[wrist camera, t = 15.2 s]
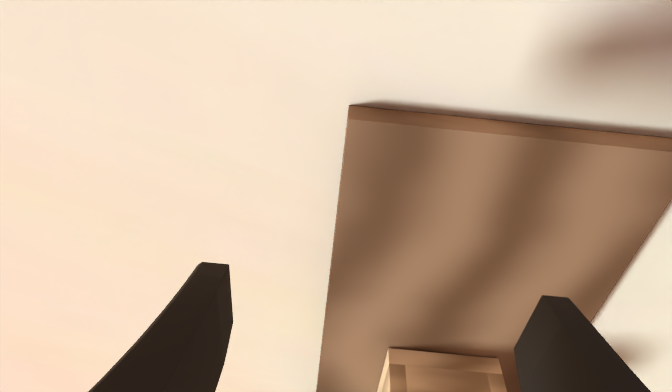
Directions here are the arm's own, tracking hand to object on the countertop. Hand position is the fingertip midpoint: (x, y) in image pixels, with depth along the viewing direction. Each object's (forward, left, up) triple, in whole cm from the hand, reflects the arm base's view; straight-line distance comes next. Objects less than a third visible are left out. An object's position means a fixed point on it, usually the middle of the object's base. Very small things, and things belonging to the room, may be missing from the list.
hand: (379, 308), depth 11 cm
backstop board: (-6, +12, -10) cm, 17 cm away
